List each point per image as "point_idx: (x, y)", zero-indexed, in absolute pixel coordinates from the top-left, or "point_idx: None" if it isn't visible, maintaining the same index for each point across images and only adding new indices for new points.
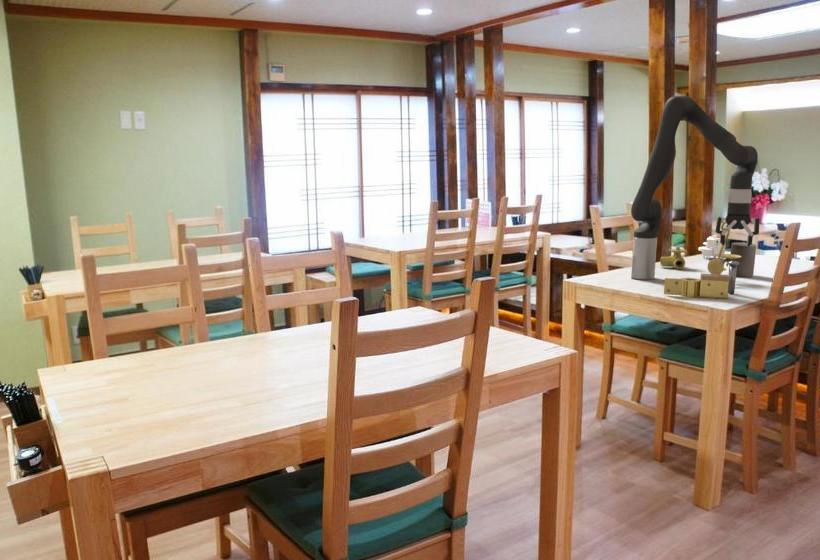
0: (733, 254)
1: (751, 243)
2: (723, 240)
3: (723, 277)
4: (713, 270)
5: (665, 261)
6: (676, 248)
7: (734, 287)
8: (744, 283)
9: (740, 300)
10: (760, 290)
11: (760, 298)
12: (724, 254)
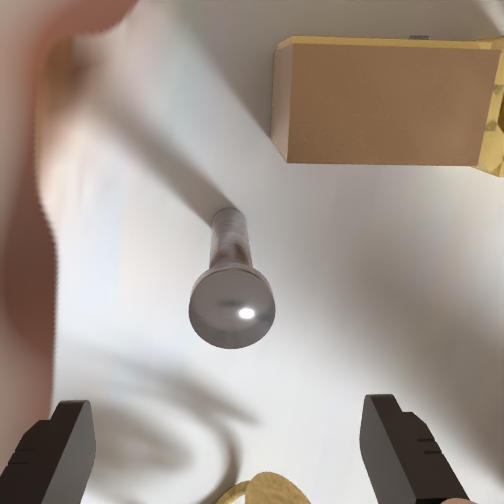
0: None
1: (33, 432)
2: (406, 432)
3: (336, 44)
4: (292, 501)
5: None
6: None
7: (215, 226)
8: (134, 489)
9: (201, 30)
10: (70, 353)
11: (81, 131)
12: None
